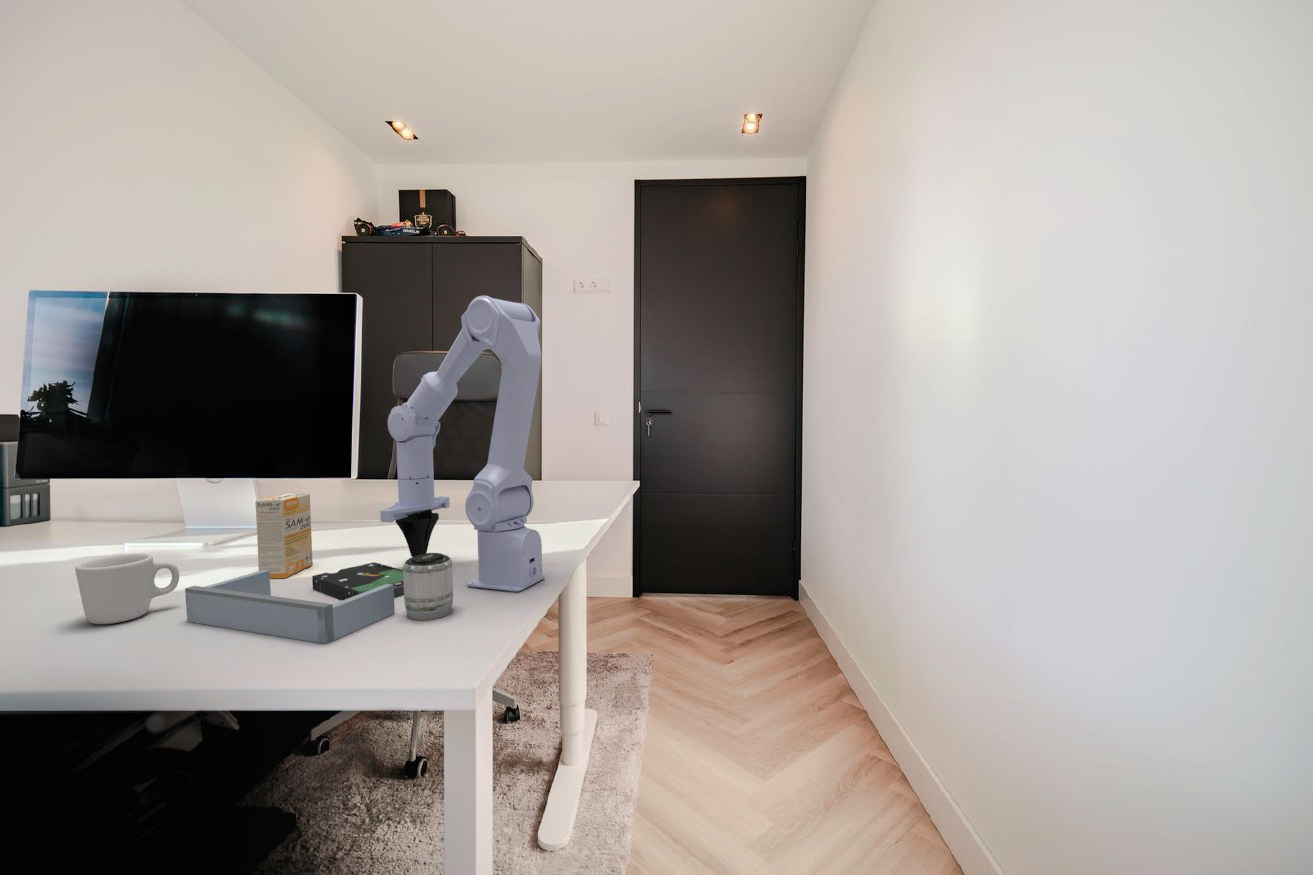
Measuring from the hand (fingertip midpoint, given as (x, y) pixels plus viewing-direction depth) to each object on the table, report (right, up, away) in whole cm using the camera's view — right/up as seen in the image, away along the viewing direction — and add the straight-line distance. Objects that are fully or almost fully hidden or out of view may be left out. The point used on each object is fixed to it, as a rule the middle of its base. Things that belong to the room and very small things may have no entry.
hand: (418, 556), depth 108 cm
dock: (-8, -4, -22) cm, 24 cm away
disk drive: (-4, -4, -11) cm, 12 cm away
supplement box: (-22, -3, 0) cm, 23 cm away
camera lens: (+10, -4, -22) cm, 24 cm away
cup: (-31, -4, -21) cm, 38 cm away
